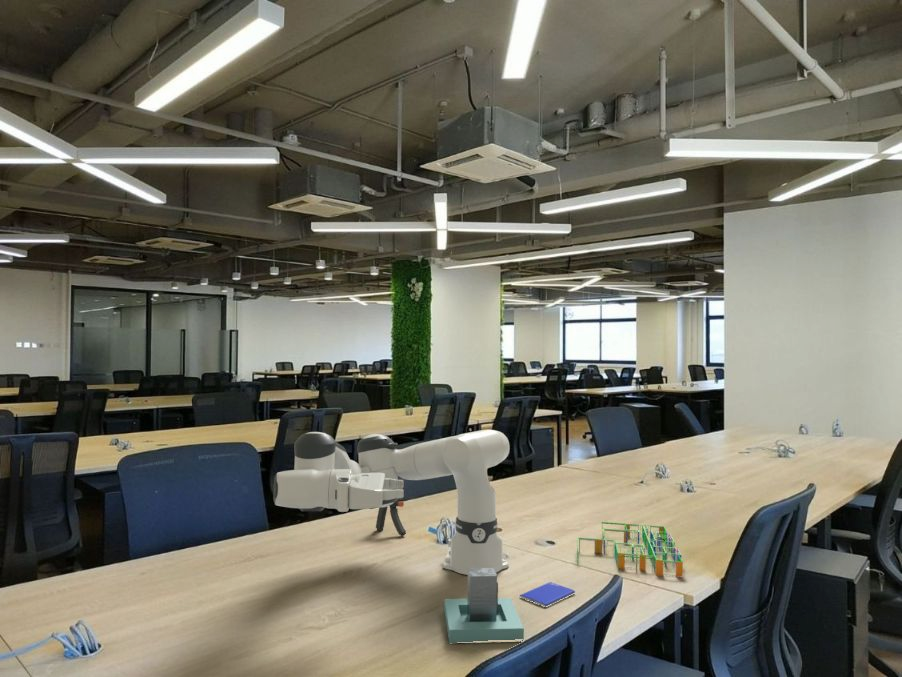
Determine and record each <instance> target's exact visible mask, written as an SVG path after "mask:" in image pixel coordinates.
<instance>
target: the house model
mask: <svg viewBox="0 0 902 677" xmlns="http://www.w3.org/2000/svg"><path fill="white" fill-rule="evenodd" d="M600 524H601V530H602V535H601V536H602V537H601V538H589V537H578V536H577V537H576V538H577V541H576V542H577V543H576V544H577V545H576V546H577V549H576V550H577V551H576V553H577V558H576V559H577V560H576V561H577V563H578V564H579V553H580V551H581V540H582V541H589V542H590V541H591V542H594V554H604V555H605V554H606V545H608V543H609V542H614V549H613V555H614V557H615V563H616V568H617V571H618V572H619V571H620V569H628V568H629V569H632V567H629V566H625V562H626V561H625V560H626V558H629V559H630V560H629V561H630V562H631V560H632V562H634V559H635V573H638V567H639V571H646V569H647V568H646V560H649V559H650V562H651V572H653V570H654V574H655V573H656V574H655V576H658V575H663V576H667V574H666V573H665V574H664V568H665V567H668V566H667V563H668V564H672V566H671V568H672V567H673V568H674V564H675V574H672V577H674V576H675V577H676V576H682V577H683V574H684V572H683V571H684V570H683V567H684V566H683V563H684V562H683V560H682V554H681V553H682V552H680V550H679V548H677V547H676V546H675V545H676V544H675V540H674V538H673V537H672V534H671V533H670V532H668V531H667V529H666V526H661V525H647V524H635V523H618V522H608V521H607V522H606V521H604V522H603V521H601V523H600ZM604 524H605V525H619V526H624V529H616V528H615V529H613V528H604V526H603V525H604ZM644 526H645V527H644ZM631 527H637V529H631ZM651 528H654V529H655V528H656V529H658V530H657V531H655V530H651ZM605 532H616V533H617V532H619V533H623V542H616V540H615V539H606V534H605ZM633 535H634V536H633ZM628 538H629V539H631V538H633V541H634V542H633V543H631V542H628ZM640 539H642V544H640ZM663 539H664V540H665V541H664V540H663ZM635 541H636V542H635ZM634 543H635V545H636V546H634ZM663 544H664V545H663ZM628 545H629V546H628ZM630 545H631V546H630ZM637 545H639V547H638V546H637ZM618 546H619V549H618ZM641 546H642V547H641ZM621 547H623V548H628V552H621V551H622V550H621V549H622V548H621ZM635 548H636V549H635ZM638 548H639V549H640V550H638ZM645 548H646V550H647V554H645V552H646V551H645ZM619 550H620V552H619ZM635 550H636V551H635ZM656 550H657V551H656ZM669 550H670V552H669ZM634 552H635V553H634ZM657 555H662V556H661V558H662V559H660V558H657ZM668 556H671V558H672V560H669V559H668ZM638 560H639V561H638ZM663 562H664V563H663ZM638 564H639V566H638ZM664 564H665V565H664ZM653 566H654V567H653ZM668 576H669V577H670V576H671V574H668ZM682 577H681V578H682Z"/></svg>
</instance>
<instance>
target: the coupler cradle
mask: <svg viewBox="0 0 902 677" xmlns="http://www.w3.org/2000/svg"><path fill="white" fill-rule="evenodd" d="M443 601H444V605H443V607H444V608H443V610H444V611H443V612H444V619H446V620H445V626H446V625H447V626H446V632H447V631H448V633H447V637H448V638H449V639H448V644H449V643H457V642H473V641H488V640H515V639H523V640H524V638H525V635H524V634H525V632H524V630H525V628H524V626H523V622H522V620H521V619H520V616H519V614H518V611H517V609H516V607H515V604H514V603H513V599H512V597H498V615H497V617H496V622H468V617H467V598H445V599H444V600H443ZM523 640H522V641H523ZM524 641H525V640H524ZM520 642H521V641H520ZM521 643H522V642H521Z"/></svg>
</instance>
